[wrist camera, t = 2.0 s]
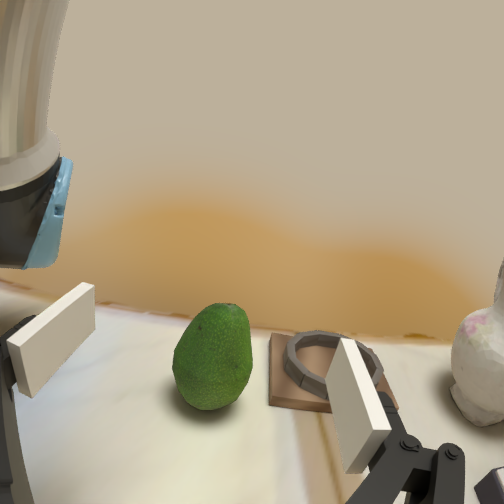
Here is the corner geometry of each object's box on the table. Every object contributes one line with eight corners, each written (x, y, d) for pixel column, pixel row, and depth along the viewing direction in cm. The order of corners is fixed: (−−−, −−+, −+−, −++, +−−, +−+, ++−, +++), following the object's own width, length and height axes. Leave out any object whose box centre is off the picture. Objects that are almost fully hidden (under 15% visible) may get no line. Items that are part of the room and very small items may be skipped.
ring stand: (269, 405, 33) (276, 382, 32) (269, 340, 47) (275, 320, 46) (393, 416, 33) (406, 395, 32) (368, 356, 47) (376, 337, 46)
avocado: (255, 400, 34) (281, 309, 30) (211, 437, 27) (232, 338, 24) (201, 367, 37) (216, 278, 34) (153, 394, 31) (160, 296, 27)
